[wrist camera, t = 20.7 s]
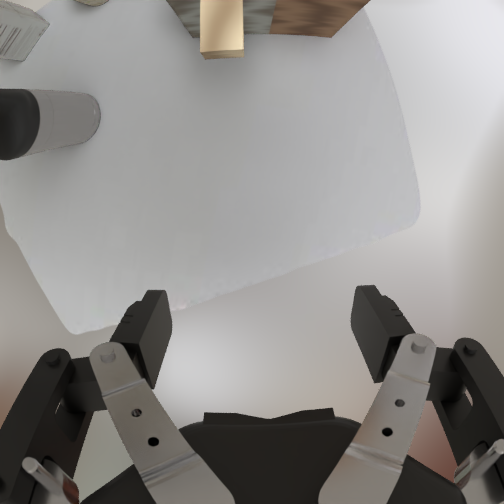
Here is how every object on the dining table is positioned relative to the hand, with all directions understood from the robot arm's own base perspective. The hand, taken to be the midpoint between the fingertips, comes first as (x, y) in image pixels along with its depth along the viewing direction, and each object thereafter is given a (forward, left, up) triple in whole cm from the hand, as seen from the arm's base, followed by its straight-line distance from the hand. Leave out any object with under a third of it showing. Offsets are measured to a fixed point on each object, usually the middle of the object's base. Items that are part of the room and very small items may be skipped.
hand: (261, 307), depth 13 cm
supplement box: (-44, +34, -38) cm, 68 cm away
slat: (-2, +26, -18) cm, 31 cm away
